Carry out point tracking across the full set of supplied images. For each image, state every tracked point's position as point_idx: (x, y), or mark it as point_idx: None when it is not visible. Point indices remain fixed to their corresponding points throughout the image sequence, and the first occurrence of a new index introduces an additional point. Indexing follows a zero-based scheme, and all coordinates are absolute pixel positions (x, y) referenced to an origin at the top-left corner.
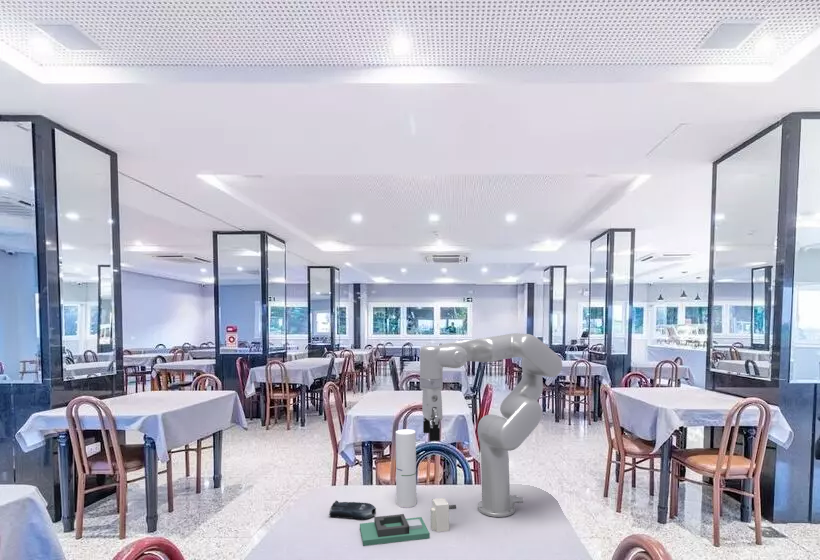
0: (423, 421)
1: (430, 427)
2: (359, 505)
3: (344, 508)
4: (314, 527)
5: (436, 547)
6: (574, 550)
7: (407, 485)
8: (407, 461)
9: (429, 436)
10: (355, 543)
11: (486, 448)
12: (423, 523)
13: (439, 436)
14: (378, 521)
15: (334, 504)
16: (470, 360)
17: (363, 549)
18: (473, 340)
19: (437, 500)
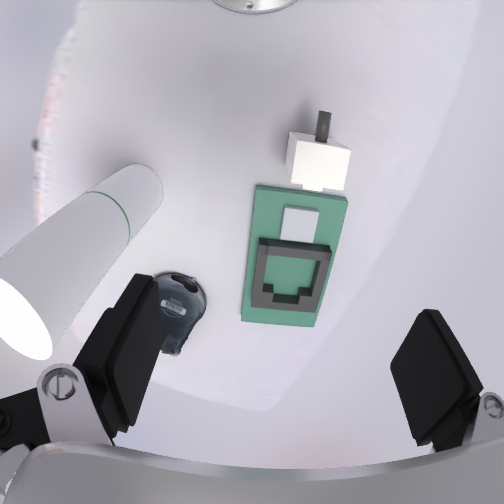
0: (123, 429)
1: (142, 333)
2: (164, 310)
3: (172, 335)
4: (212, 367)
5: (385, 199)
6: None
7: (141, 217)
8: (107, 256)
9: (400, 389)
10: (296, 329)
11: None
12: (295, 197)
13: (449, 330)
14: (276, 304)
15: None
16: None
17: (323, 321)
18: None
19: (308, 171)
